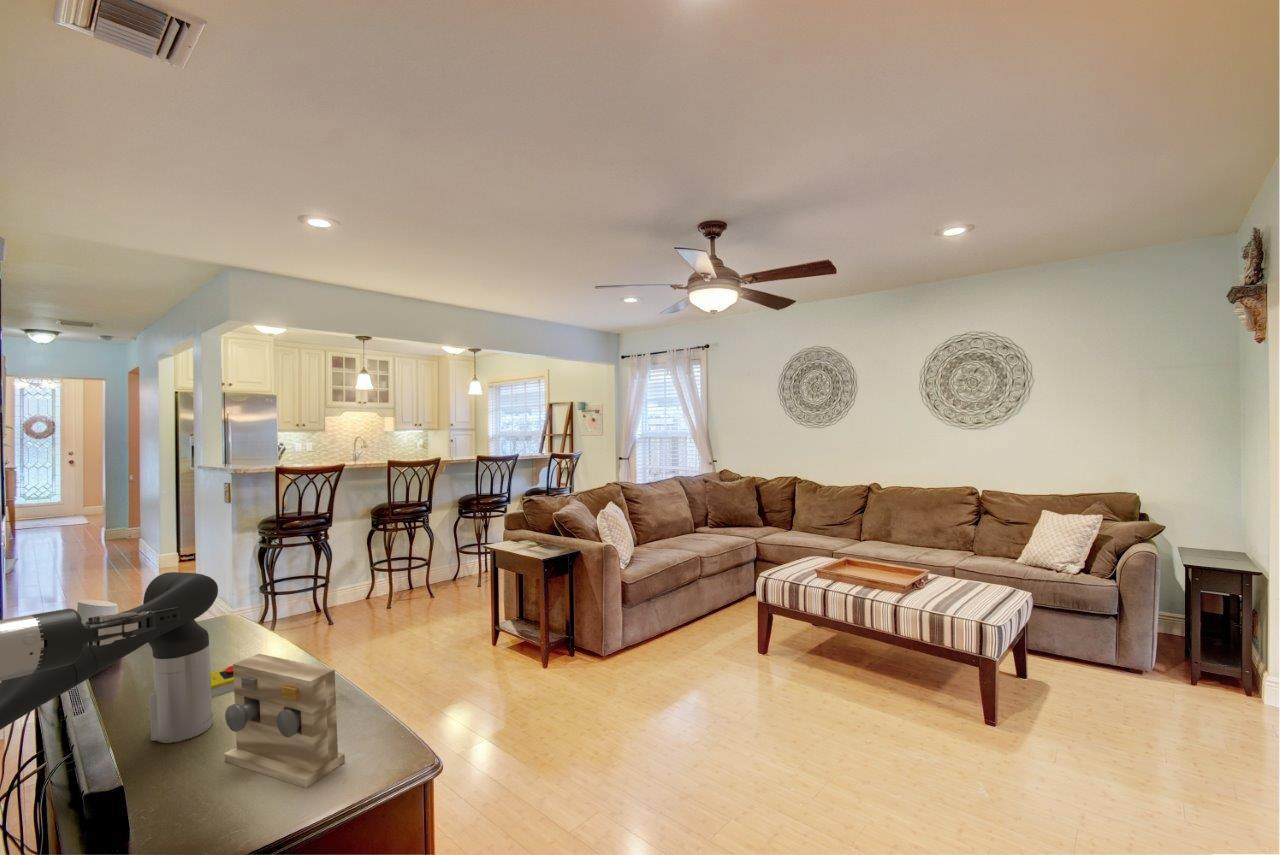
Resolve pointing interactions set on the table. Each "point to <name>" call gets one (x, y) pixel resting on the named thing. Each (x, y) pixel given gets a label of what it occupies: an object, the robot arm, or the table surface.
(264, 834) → the table surface
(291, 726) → the grey rounded knob
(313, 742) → the birch console
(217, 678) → the emergency button
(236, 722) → the grey button
